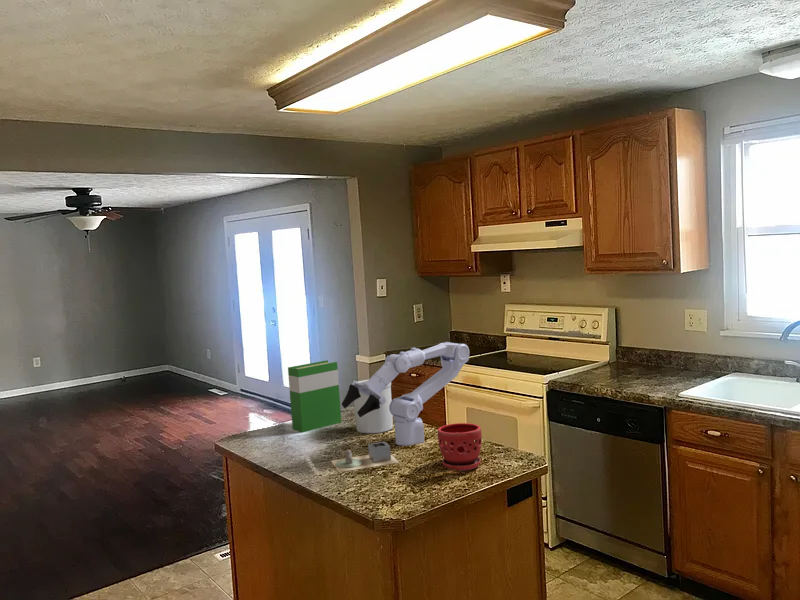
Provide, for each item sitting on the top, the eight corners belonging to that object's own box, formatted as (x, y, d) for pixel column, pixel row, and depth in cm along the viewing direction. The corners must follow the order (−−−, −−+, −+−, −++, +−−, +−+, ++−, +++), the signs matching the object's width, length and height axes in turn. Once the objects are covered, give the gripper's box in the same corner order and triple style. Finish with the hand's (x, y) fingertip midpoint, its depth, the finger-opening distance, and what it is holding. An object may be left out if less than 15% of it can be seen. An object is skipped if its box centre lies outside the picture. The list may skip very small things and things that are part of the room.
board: (388, 454, 216) (387, 438, 216) (399, 465, 205) (398, 448, 204) (331, 463, 210) (329, 446, 210) (339, 475, 199) (337, 457, 199)
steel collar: (386, 455, 212) (385, 441, 212) (391, 460, 207) (390, 446, 207) (369, 457, 211) (368, 444, 210) (373, 463, 205) (372, 448, 205)
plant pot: (491, 464, 201) (489, 425, 200) (463, 476, 191) (461, 435, 191) (459, 456, 210) (456, 419, 209) (430, 467, 201) (428, 429, 200)
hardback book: (330, 419, 266) (326, 360, 265) (341, 422, 261) (337, 362, 259) (292, 429, 255) (287, 367, 254) (302, 432, 250) (297, 369, 248)
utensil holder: (346, 430, 249) (343, 384, 248) (376, 421, 259) (373, 377, 258) (372, 436, 238) (368, 388, 237) (402, 427, 248) (399, 381, 247)
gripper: (360, 366, 220) (332, 394, 214) (390, 381, 211) (362, 411, 205) (367, 380, 225) (339, 407, 219) (397, 395, 215) (369, 425, 209)
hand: (350, 410), depth 212 cm, fingers open, 7 cm apart
